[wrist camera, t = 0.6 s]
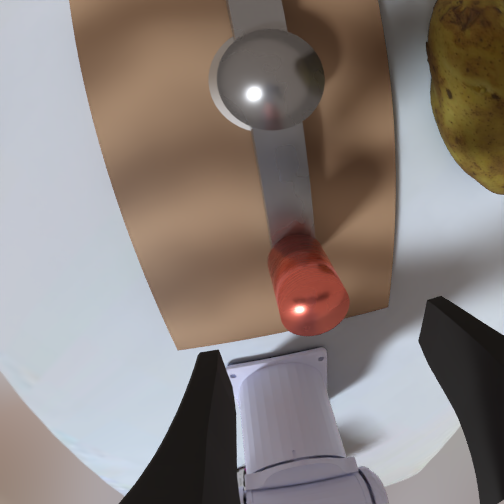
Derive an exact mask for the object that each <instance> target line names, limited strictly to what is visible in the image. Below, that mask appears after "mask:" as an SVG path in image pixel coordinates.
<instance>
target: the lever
mask: <svg viewBox="0 0 504 504" xmlns="http://www.w3.org/2000/svg"><path fill="white" fill-rule="evenodd" d="M226 5H227V10H228V15H229V20H230V25H231V30H232V35H233V40H234V42H233V43H232V44H231V45H230V46H229V47H228V49H227V50H226V51H225V53H224V54H223V56H222V58H221V60H220V63H219V66H218V71H217V87H218V91H219V95H220V97H221V100H222V102H223V103H224V105H225V107H226V108H227V109H228V110H229V112H230V113H231V114H232V115H233V116H234V117H235V118H237V119H238V120H239V121H241V122H243V123H244V124H246V125H248V126H250V130H251V136H252V141H253V147H254V152H255V158H256V163H257V169H258V175H259V181H260V186H261V192H262V198H263V204H264V210H265V216H266V221H267V227H268V233H269V239H270V246H271V251H270V253H269V256H268V261H267V264H268V269H269V273H270V277H271V281H272V285H273V289H274V293H275V297H276V301H277V305H278V310H279V314H280V318H281V321H282V324H283V325H284V327H285V328H286V329H287V330H289V331H290V332H292V333H294V334H296V335H300V336H314V335H319V334H322V333H325V332H327V331H329V330H331V329H333V328H334V327H335V326H337V325H338V324H339V323H340V322H341V321H342V320H343V319H344V317H345V316H346V314H347V312H348V309H349V304H350V300H349V295H348V293H347V291H346V289H345V287H344V286H343V284H342V282H341V280H340V278H339V276H338V274H337V273H336V271H335V269H334V267H333V265H332V264H331V262H330V260H329V258H328V256H327V255H326V253H325V251H324V249H323V248H322V246H321V244H320V243H319V242H318V241H317V240H316V239H315V228H314V217H313V207H312V197H311V187H310V178H309V169H308V161H307V153H306V145H305V137H304V130H303V122H302V121H304V120H305V119H306V118H308V117H309V116H310V115H311V114H312V113H313V111H314V110H315V109H316V107H317V106H318V104H319V102H320V100H321V98H322V95H323V92H324V86H325V75H324V70H323V66H322V63H321V60H320V59H319V57H318V55H317V53H316V52H315V51H314V49H313V48H312V47H311V46H310V45H309V44H308V43H307V42H306V41H305V40H303V39H302V38H300V37H299V36H297V35H295V34H293V33H290V32H288V31H287V26H286V20H285V15H284V10H283V6H282V1H281V0H226Z"/></svg>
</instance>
